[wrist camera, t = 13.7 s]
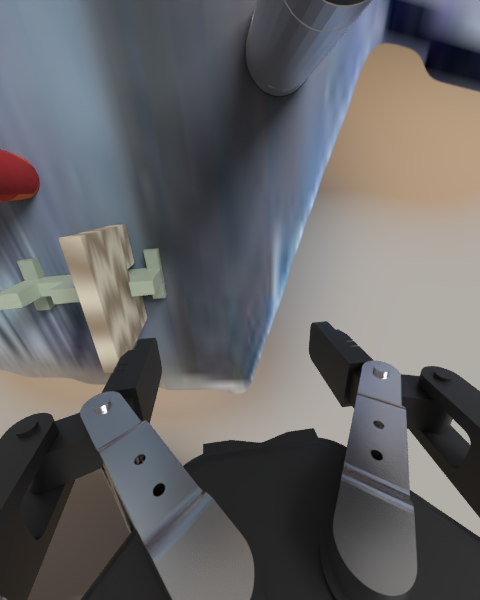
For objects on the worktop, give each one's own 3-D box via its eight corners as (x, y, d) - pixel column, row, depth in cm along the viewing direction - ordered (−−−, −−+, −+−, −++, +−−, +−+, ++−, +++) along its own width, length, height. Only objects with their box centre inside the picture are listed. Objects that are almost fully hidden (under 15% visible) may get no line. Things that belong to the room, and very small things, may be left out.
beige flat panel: (111, 225, 38) (58, 238, 24) (125, 223, 38) (80, 236, 24) (135, 319, 44) (104, 373, 30) (147, 317, 44) (121, 371, 30)
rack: (23, 259, 38) (-20, 272, 30) (158, 248, 40) (147, 258, 32) (42, 307, 41) (6, 330, 33) (166, 294, 43) (158, 313, 35)
